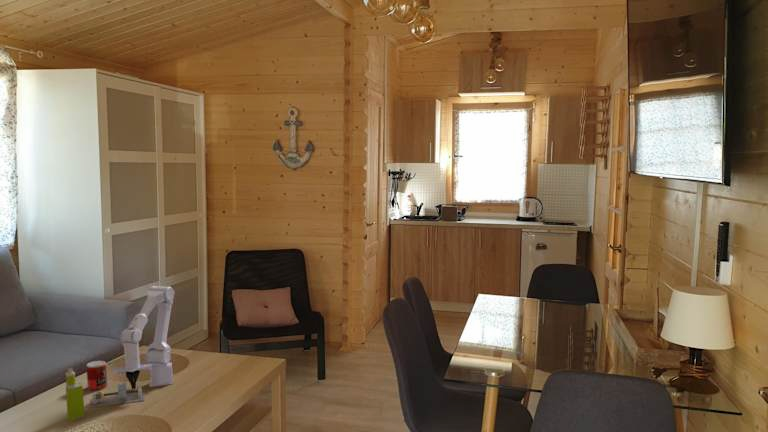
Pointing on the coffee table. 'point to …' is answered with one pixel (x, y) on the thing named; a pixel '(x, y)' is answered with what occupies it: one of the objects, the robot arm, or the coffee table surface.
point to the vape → (74, 396)
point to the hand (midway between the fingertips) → (133, 388)
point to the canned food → (96, 375)
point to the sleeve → (122, 390)
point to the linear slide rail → (116, 398)
